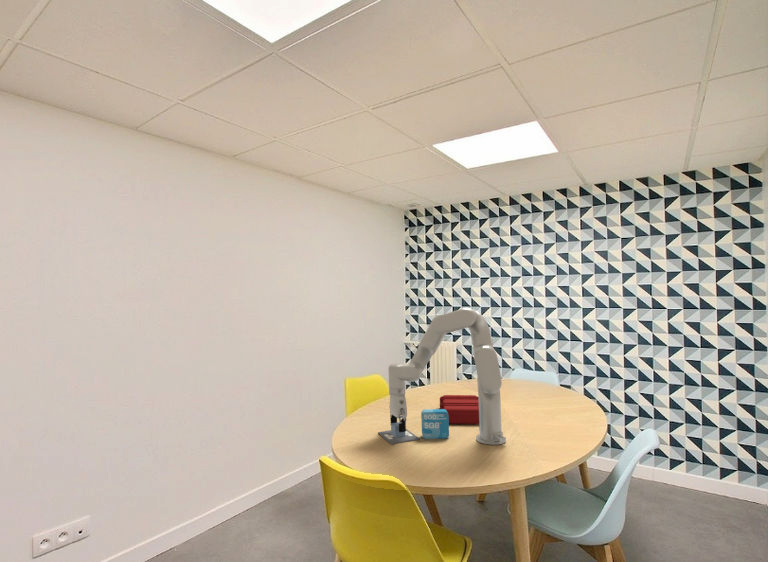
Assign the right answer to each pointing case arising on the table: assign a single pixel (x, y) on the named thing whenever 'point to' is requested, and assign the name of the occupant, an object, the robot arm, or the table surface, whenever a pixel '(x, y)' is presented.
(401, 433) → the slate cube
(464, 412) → the first aid kit
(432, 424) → the data package
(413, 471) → the table surface
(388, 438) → the letter mat
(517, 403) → the table surface
